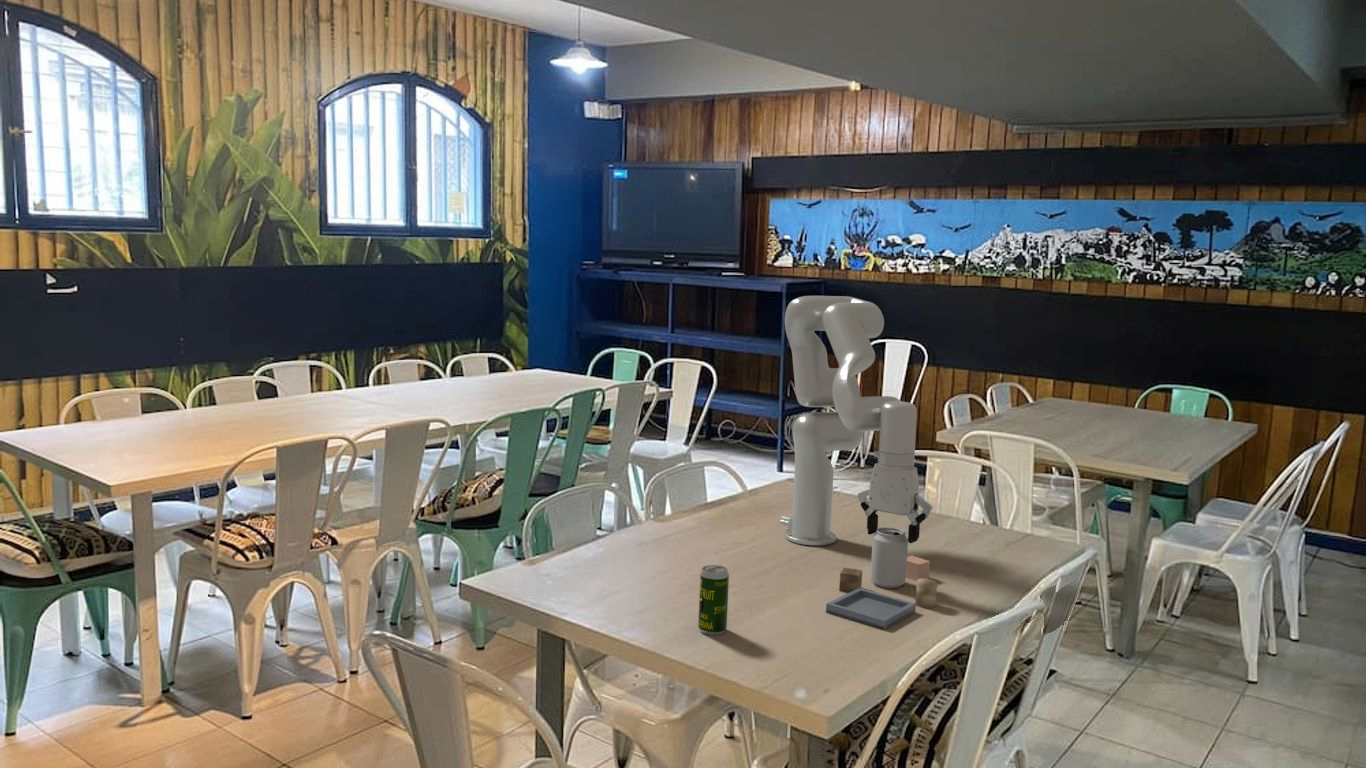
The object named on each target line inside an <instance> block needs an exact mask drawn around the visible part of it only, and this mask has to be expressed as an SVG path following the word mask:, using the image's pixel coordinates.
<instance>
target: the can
mask: <svg viewBox="0 0 1366 768" xmlns="http://www.w3.org/2000/svg"><path fill="white" fill-rule="evenodd" d="M876 531H877V532H876V533H874V534H873V535H872V545H871V559H870V560H871V563H870V575H869V576H870V578H869V579H870V581H872V583H873V584H874V585H875V586H877V587H880V588H885V589H897V588H901V586H902V585H904V584H905V583H906V579H907V578H906V564H907V557H908V550H909V549H908V547H909V542H908V536H906V531H905V530H903V529H901V528H897V527H892V526H891V527H889V526H888V527H887V526H883V527H878V529H877V530H876Z"/></svg>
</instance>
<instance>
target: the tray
mask: <svg viewBox="0 0 1366 768" xmlns="http://www.w3.org/2000/svg"><path fill="white" fill-rule="evenodd" d="M916 606H917V605H916V602H915V603H914V602H911V601H907V600H903V599H900V598H897V597H893V596H890V595H886V594H883V593H879V592H875V591H871V590H868V589H866V588H865V589H864V588H862V587H861V588H858V589H856V590H854V591H852V592H847V593H845V594H844V595H842V596H840V597H837V598H836V599H833V600H831V601H829V602H828V603H826V606H825V607H826V608H825V613H827V614H830V615H832V616H833V615H834V616H837V617H839V618H844V619H846V620H850V621H853V622H857V623H860V624H864V625H866V626H870V627H873V628H876V629H880V630H883V631H885V630H886V629H888V628H890V627H891V626H894V625H896V624H898V623H899V622H900V621H903V620H904V619H906V618H907V617H910V616H911V615H913V614H914V613H916V608H917V607H916Z"/></svg>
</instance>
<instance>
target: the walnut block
mask: <svg viewBox="0 0 1366 768" xmlns="http://www.w3.org/2000/svg"><path fill="white" fill-rule="evenodd" d="M862 581H863V570H862V569H856V568H849V567H843V569H842V570H841V571H840V573H839V585H838V586H839V592H843V593H844V592H845V593H850V592H852V591H854V590H856V589H858V588H862V583H863V582H862Z"/></svg>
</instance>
